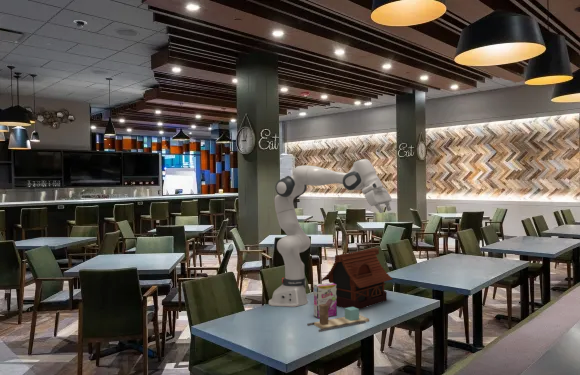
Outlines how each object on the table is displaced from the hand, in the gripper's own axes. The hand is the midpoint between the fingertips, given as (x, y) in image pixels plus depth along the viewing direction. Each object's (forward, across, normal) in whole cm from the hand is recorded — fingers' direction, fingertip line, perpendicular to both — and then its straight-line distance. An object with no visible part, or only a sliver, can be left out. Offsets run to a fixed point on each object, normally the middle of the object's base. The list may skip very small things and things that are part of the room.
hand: (386, 211), depth 228 cm
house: (+37, -15, -47) cm, 62 cm away
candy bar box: (+35, +18, -48) cm, 62 cm away
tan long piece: (+40, +24, -36) cm, 59 cm away
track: (+39, +27, -37) cm, 61 cm away
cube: (+41, +18, -33) cm, 56 cm away
